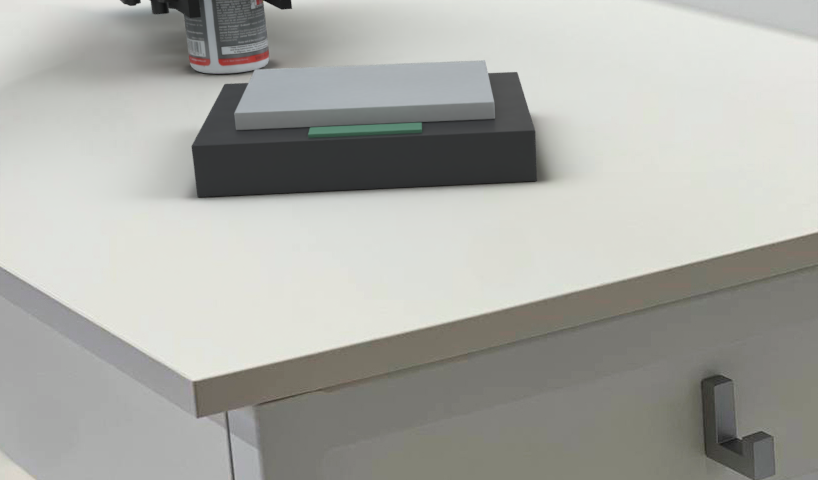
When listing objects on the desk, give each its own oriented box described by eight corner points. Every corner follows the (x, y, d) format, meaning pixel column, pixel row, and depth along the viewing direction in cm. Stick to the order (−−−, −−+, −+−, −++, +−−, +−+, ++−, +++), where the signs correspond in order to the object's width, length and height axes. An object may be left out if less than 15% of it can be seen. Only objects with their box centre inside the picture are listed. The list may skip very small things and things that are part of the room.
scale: (197, 197, 86) (189, 126, 84) (229, 128, 100) (222, 67, 99) (537, 181, 87) (534, 111, 86) (519, 115, 102) (516, 55, 101)
